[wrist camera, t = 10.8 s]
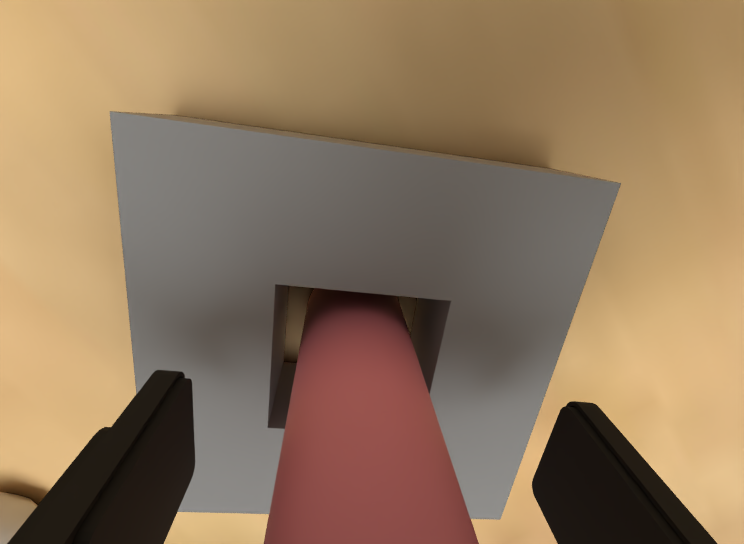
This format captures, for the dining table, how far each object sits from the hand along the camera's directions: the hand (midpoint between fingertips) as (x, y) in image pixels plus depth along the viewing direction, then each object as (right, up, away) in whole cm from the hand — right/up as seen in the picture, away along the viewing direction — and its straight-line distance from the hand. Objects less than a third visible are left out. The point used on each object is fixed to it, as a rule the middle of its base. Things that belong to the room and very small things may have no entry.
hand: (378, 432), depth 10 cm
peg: (-1, +2, +7) cm, 7 cm away
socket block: (-1, +2, +7) cm, 7 cm away
